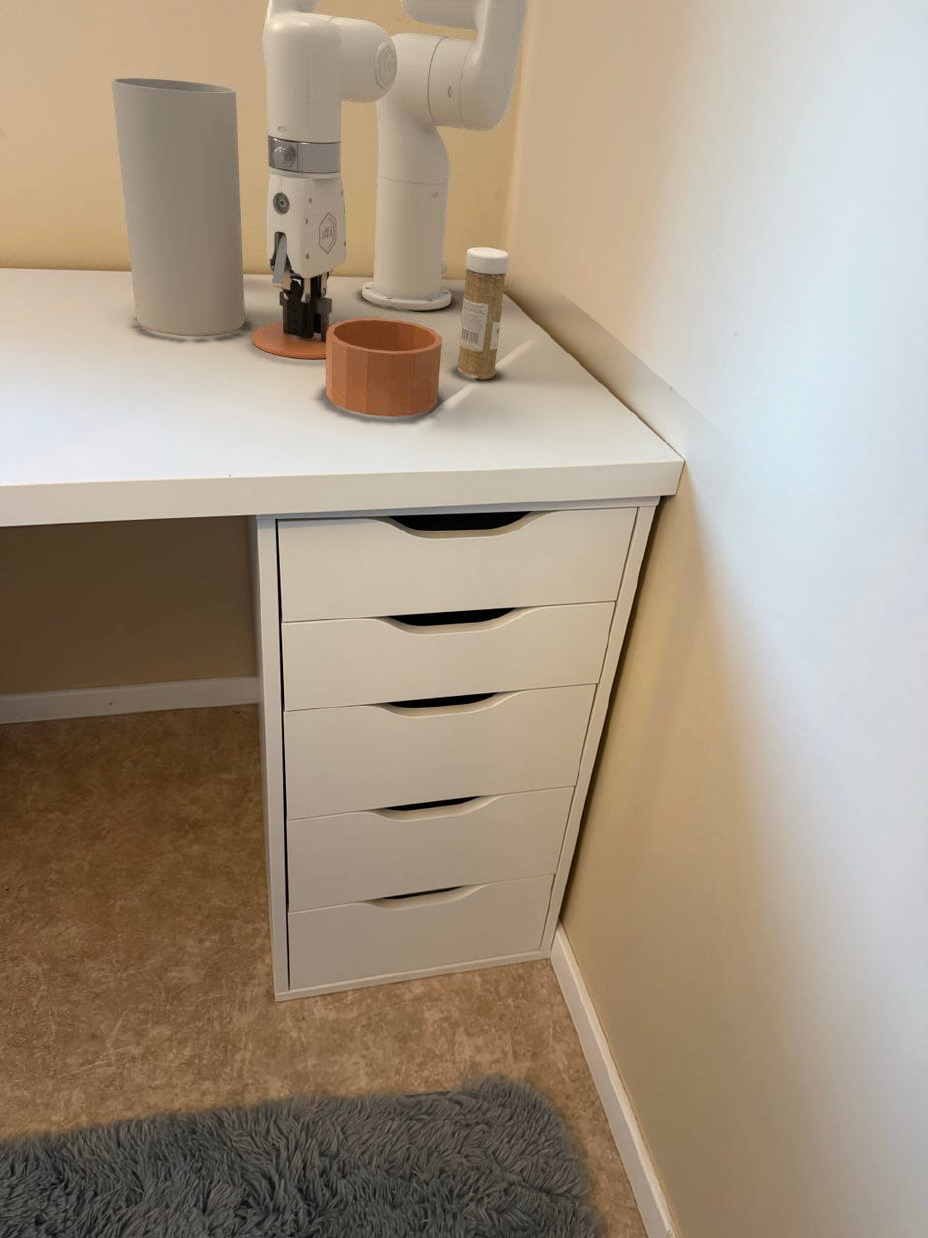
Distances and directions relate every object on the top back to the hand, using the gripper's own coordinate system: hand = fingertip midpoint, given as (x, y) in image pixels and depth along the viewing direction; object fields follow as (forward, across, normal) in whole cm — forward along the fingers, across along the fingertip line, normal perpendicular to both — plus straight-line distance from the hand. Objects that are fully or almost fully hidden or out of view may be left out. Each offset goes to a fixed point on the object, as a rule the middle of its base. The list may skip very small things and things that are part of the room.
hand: (305, 332), depth 105 cm
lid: (+1, 0, 0) cm, 1 cm away
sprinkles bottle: (+2, +4, -20) cm, 20 cm away
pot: (+2, -10, -15) cm, 18 cm away
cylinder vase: (+2, -1, +15) cm, 15 cm away
